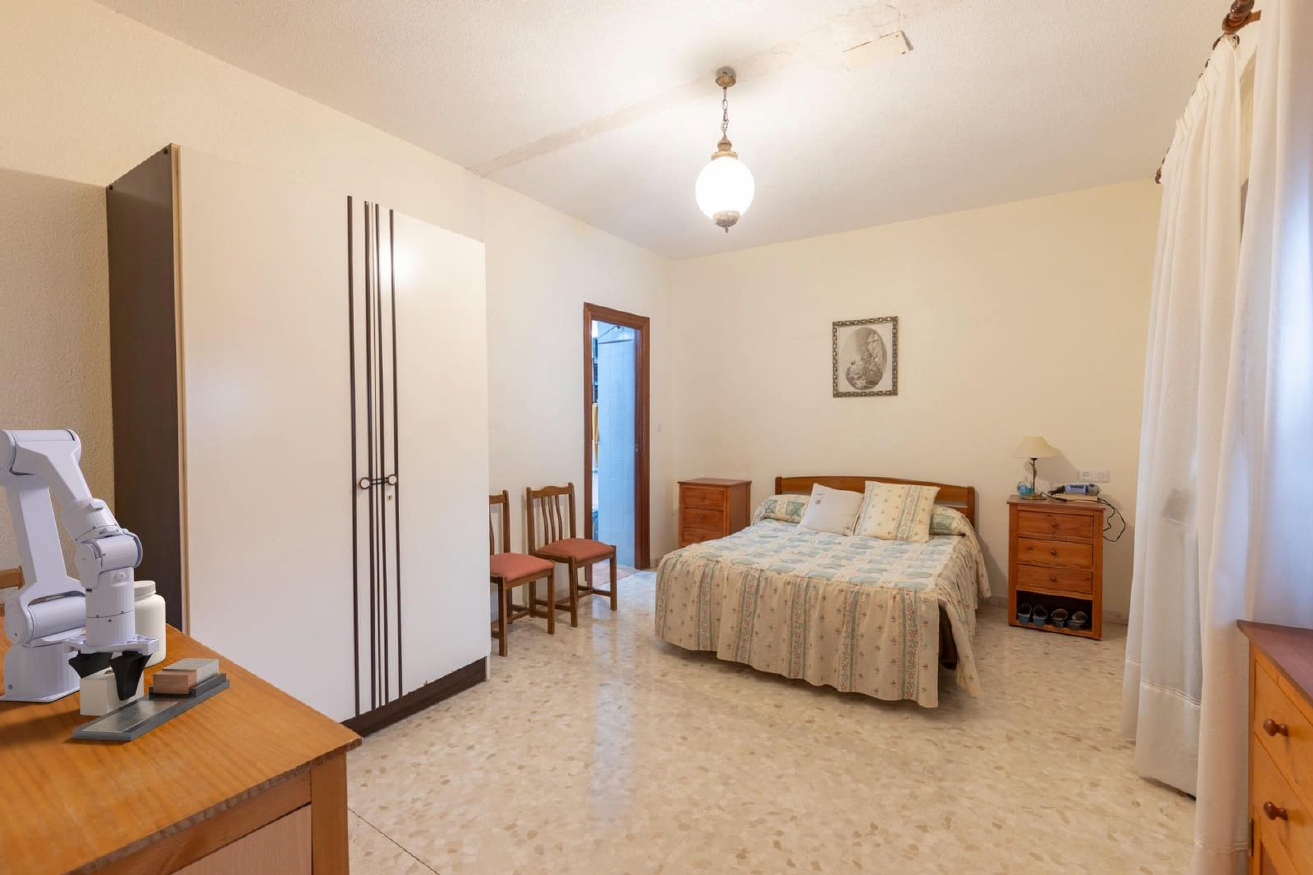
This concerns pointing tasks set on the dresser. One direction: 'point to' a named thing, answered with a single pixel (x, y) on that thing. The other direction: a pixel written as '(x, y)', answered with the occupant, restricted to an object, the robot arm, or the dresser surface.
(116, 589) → the robot arm
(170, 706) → the base plate
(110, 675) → the block
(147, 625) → the pill bottle
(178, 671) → the block
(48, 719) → the dresser surface
